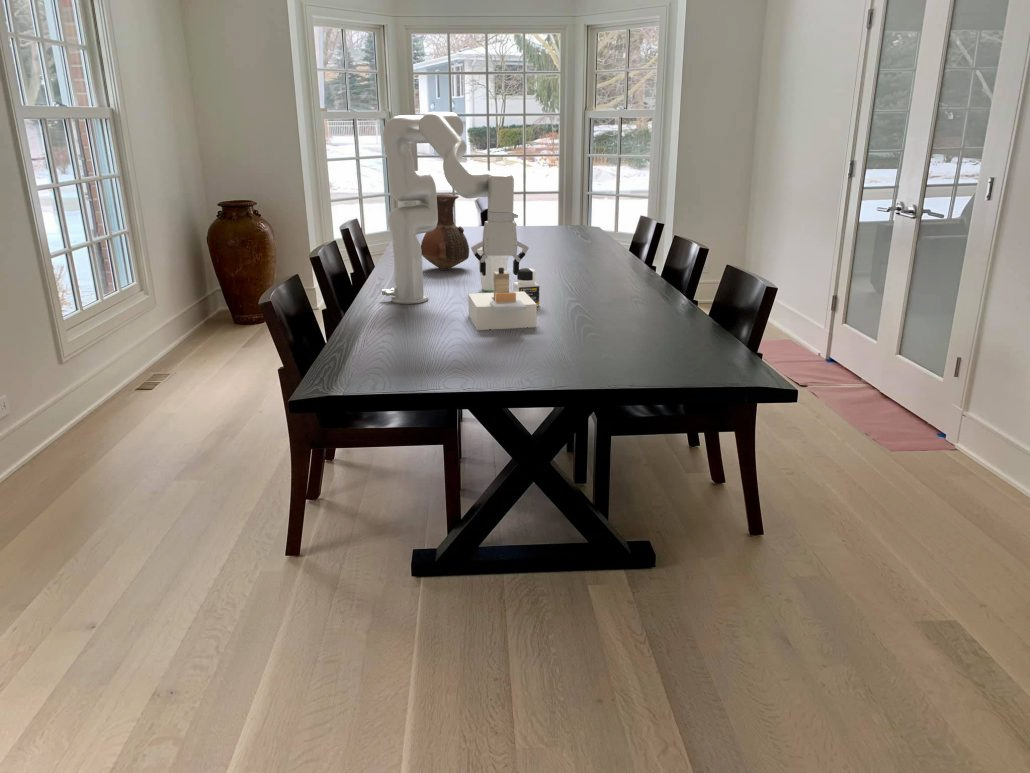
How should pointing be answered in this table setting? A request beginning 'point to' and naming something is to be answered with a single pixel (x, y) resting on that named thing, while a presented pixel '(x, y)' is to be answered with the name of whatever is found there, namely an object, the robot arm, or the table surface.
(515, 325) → the socket
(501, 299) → the grey tile with orange
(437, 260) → the vase
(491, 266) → the cup
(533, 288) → the medicine bottle
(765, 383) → the table surface
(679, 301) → the table surface
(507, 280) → the plug
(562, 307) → the table surface
